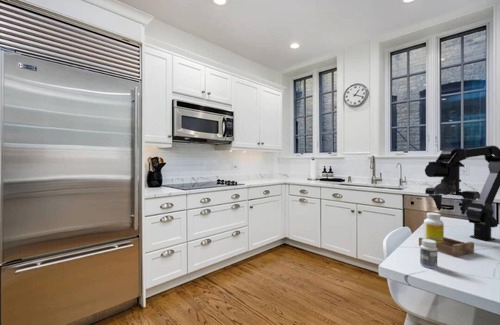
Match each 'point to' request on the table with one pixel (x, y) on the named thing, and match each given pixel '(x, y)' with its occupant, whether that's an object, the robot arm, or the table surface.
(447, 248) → the bay
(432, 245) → the pill bottle
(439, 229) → the supplement bottle
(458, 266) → the table surface
